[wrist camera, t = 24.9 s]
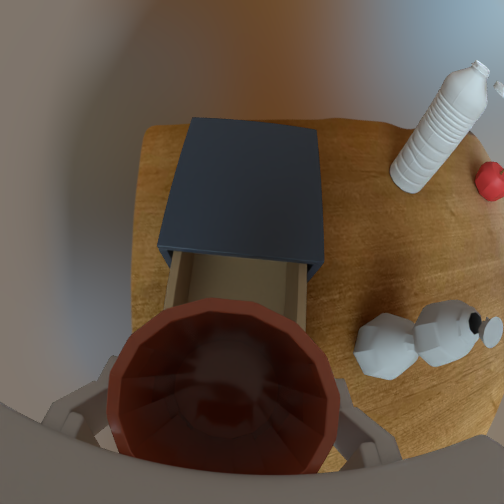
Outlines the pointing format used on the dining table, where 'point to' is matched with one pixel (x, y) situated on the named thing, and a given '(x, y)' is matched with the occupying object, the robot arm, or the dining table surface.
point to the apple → (490, 181)
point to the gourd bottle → (423, 338)
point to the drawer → (239, 282)
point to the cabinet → (246, 194)
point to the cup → (224, 392)
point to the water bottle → (443, 126)
